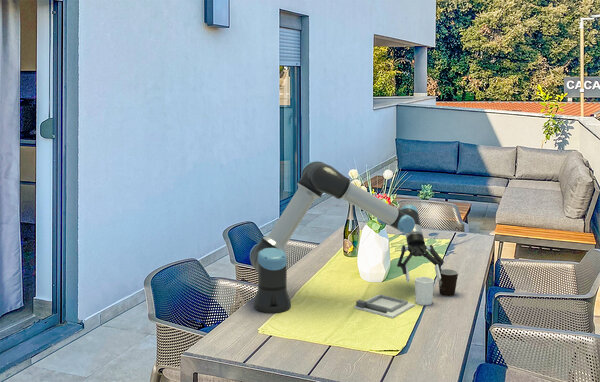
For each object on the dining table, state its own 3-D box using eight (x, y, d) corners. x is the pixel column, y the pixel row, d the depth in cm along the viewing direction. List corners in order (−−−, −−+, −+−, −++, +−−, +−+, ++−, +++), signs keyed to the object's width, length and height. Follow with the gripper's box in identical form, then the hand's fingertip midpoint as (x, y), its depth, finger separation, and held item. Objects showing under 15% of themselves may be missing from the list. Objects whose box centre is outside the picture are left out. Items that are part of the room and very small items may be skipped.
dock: (354, 308, 257) (354, 301, 256) (377, 296, 271) (377, 290, 270) (392, 318, 246) (392, 311, 245) (414, 305, 260) (414, 299, 259)
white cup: (434, 306, 260) (435, 282, 258) (415, 305, 260) (416, 282, 258) (431, 299, 268) (432, 277, 266) (412, 299, 268) (413, 276, 266)
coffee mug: (457, 297, 270) (458, 275, 268) (437, 296, 272) (438, 274, 270) (456, 289, 281) (457, 267, 280) (436, 288, 283) (437, 266, 281)
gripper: (439, 240, 282) (449, 282, 270) (385, 242, 280) (393, 285, 267) (444, 231, 276) (454, 274, 264) (388, 233, 273) (397, 276, 261)
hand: (424, 280), depth 266 cm, fingers open, 13 cm apart
